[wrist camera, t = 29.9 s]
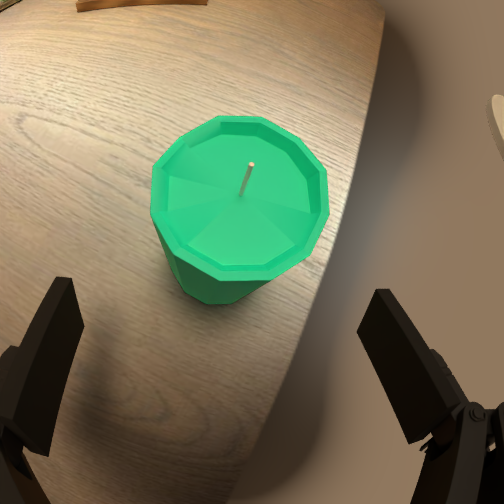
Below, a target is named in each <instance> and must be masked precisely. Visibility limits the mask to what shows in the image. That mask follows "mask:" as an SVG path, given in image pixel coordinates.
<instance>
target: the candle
mask: <svg viewBox="0 0 504 504" xmlns="http://www.w3.org/2000/svg"><path fill="white" fill-rule="evenodd" d="M150 215H151V218H152V220H153V223H154V226H155V228H156V231H157V234H158V236H159V239H160V242H161V244H162V247H163V249H164V252H165V254H166V257H167V259H168V262H169V264H170V267H171V269H172V271H173V273H174V275H175V277H176V278H177V280H178V282H179V283H180V285H181V287H182V289H183V290H184V292H185V293H187V294H189V295H191V296H192V297H194V298H196V299H198V300H200V301H201V302H203V303H205V304H232V303H234V302H235V301H237V300H239V299H241V298H242V297H244V296H246V295H247V294H249V293H251V292H253V291H254V290H256V289H258V288H259V287H261V286H263V285H264V284H266V283H268V282H269V281H271V280H273V279H274V278H276V277H277V276H279V275H281V274H282V273H284V272H285V271H287V270H288V269H290V268H291V267H293V266H295V265H296V264H298V263H299V262H301V261H302V260H304V259H305V258H307V257H308V256H310V255H311V253H312V251H313V249H314V246H315V244H316V242H317V240H318V238H319V236H320V234H321V232H322V230H323V228H324V225H325V223H326V221H327V219H328V217H329V198H328V183H327V170H326V169H325V168H324V166H323V165H322V164H321V163H320V162H319V160H318V159H317V158H316V157H315V156H314V154H313V153H312V152H311V151H310V150H309V149H308V147H307V146H306V145H305V144H304V143H303V142H302V140H301V139H300V138H298V137H297V136H295V135H293V134H292V133H290V132H288V131H286V130H285V129H283V128H281V127H279V126H278V125H276V124H274V123H272V122H270V121H269V120H267V119H265V118H263V117H254V116H217V117H215V118H213V119H211V120H209V121H208V122H206V123H204V124H202V125H200V126H198V127H197V128H195V129H193V130H191V131H190V132H188V133H186V134H184V135H183V136H181V137H179V138H178V139H177V140H176V141H175V143H174V144H173V145H172V146H171V147H170V148H169V149H168V150H167V151H166V152H165V153H164V154H163V155H162V156H161V158H160V159H159V160H158V161H157V162H156V163H155V164H154V165H153V170H152V186H151V206H150Z"/></svg>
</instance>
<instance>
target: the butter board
mask: <svg viewBox="0 0 504 504" xmlns="http://www.w3.org/2000/svg"><path fill="white" fill-rule="evenodd" d="M207 2H208V0H78V2H77V3H76V7H77V12H82V11H88V10H95V9H102V8H110V7H119V6H131V5H147V4H202V5H207Z"/></svg>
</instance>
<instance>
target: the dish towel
mask: <svg viewBox="0 0 504 504" xmlns="http://www.w3.org/2000/svg"><path fill="white" fill-rule="evenodd" d="M18 1H20V0H0V11H1V10H3V9H5V8H7V7H9V6H11V5H12V4H14V3H16V2H18Z"/></svg>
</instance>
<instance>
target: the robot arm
mask: <svg viewBox="0 0 504 504" xmlns="http://www.w3.org/2000/svg"><path fill="white" fill-rule="evenodd" d="M83 329H84V323H83V319H82V316H81V312H80V309H79V305H78V301H77V298H76V294H75V290H74V285H73V281H72V278H67V277H56V278H55V279H54V281H53V283H52V285H51V286H50V288H49V290H48V292H47V293H46V295H45V297H44V299H43V301H42V302H41V304H40V306H39V308H38V310H37V312H36V314H35V316H34V318H33V320H32V322H31V324H30V326H29V328H28V330H27V332H26V334H25V336H24V338H23V340H22V342H21V344H20V346H19V347H16V346H11V345H10V346H9V348H8V349H7V350H6V351H5V352H4V353H3V354H2V355H1V357H0V504H51V503H50V501H49V500H48V498H47V496H46V495H45V493H44V491H43V489H42V488H41V486H40V484H39V482H38V480H37V479H36V477H35V475H34V473H33V471H32V469H31V467H30V465H29V463H28V461H27V459H26V457H25V455H24V454H23V452H22V451H23V446H25V447H26V448H27V449H28V450H29V451H30V452H33V453H36V454H40V455H43V456H47V457H49V452H50V447H51V442H52V437H53V432H54V428H55V424H56V419H57V415H58V411H59V407H60V403H61V400H62V396H63V392H64V389H65V385H66V382H67V378H68V375H69V372H70V368H71V365H72V362H73V359H74V356H75V353H76V349H77V346H78V344H79V341H80V338H81V335H82V332H83ZM357 334H358V336H359V338H360V340H361V342H362V344H363V346H364V348H365V350H366V352H367V354H368V356H369V358H370V360H371V362H372V365H373V367H374V369H375V371H376V373H377V375H378V377H379V379H380V381H381V383H382V386H383V388H384V390H385V392H386V394H387V396H388V399H389V401H390V403H391V405H392V407H393V410H394V412H395V414H396V417H397V419H398V421H399V423H400V425H401V428H402V430H403V433H404V435H405V437H406V439H407V442H408V444H412V443H414V442H417V441H420V440H423V439H424V438H425V437H426V436H427V435H428V434H429V433H430V432H431V434H432V436H433V437H432V438H431V439H430V440H429V441H428V442H426V443H425V444H424V445H423V446H421V448H420V451H422V450H423V449H425V448H426V447H427V446H428V448H427V450H426V451H425V453H426V455H425V459H424V463H423V466H422V469H421V473H420V476H419V479H418V482H417V485H416V488H415V491H414V494H413V497H412V500H411V503H410V504H504V402H502V403H501V404H500V405H499V406H498V407H497V408H496V409H484V408H483V407H482V406H481V405H480V404H478V403H476V402H469V401H468V399H467V397H466V396H465V394H464V392H463V391H462V389H461V387H460V385H459V384H458V382H457V381H456V379H455V377H454V375H452V372H451V371H450V369H449V368H448V367H447V364H446V363H445V361H444V359H443V358H442V356H441V355H439V354H438V353H437V352H436V351H435V350H434V349H429V347H428V346H427V344H426V343H425V341H424V340H423V338H422V336H421V335H420V333H419V332H418V330H417V329H416V327H415V326H414V324H413V323H412V321H411V320H410V318H409V317H408V315H407V314H406V312H405V311H404V310H403V308H402V307H401V305H400V304H399V302H398V301H397V299H396V298H395V297H394V295H393V294H392V292H391V291H390V289H376V290H375V292H374V294H373V297H372V299H371V301H370V304H369V306H368V308H367V310H366V313H365V315H364V317H363V319H362V321H361V323H360V325H359V328H358V330H357ZM494 442H495V446H496V448H495V449H494V450H492V451H490V449H489V446H490V445H492V444H493V443H494Z"/></svg>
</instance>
